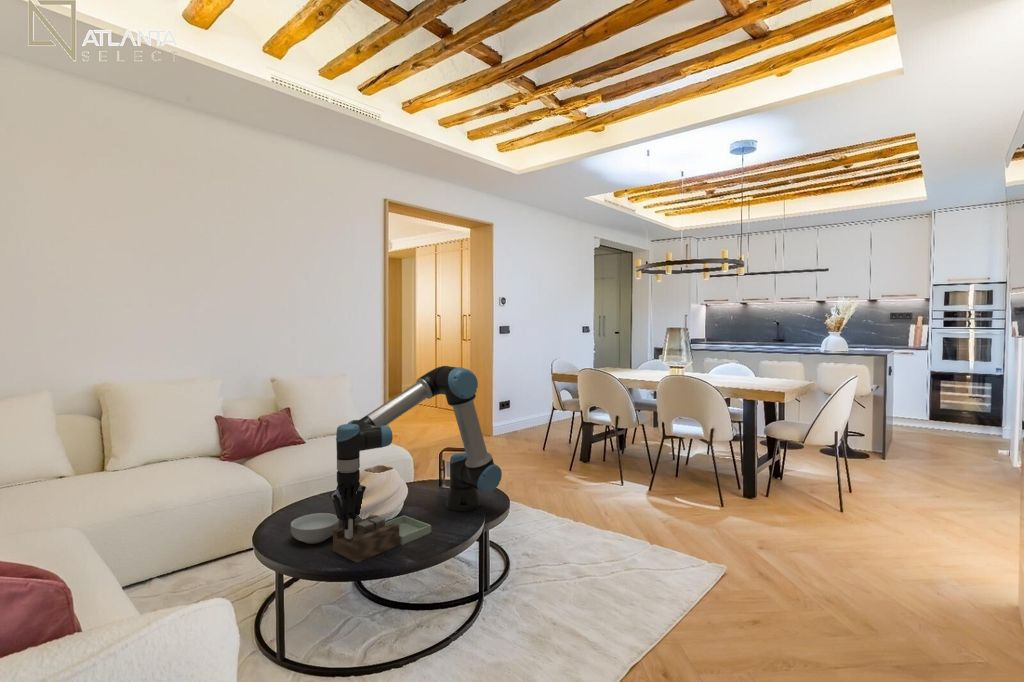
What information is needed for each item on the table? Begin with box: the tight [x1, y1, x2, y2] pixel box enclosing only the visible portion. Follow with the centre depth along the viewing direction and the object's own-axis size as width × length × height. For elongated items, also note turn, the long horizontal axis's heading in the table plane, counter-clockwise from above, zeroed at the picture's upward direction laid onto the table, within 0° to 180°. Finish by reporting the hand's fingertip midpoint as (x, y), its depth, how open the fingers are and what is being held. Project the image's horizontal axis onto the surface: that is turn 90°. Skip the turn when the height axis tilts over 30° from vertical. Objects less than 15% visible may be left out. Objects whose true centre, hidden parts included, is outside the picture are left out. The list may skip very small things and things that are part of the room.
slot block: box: [332, 515, 401, 564], centre depth 184 cm, size 18×14×8 cm
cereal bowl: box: [290, 512, 340, 545], centre depth 191 cm, size 17×17×7 cm
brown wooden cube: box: [357, 521, 374, 536], centre depth 184 cm, size 4×4×4 cm
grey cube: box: [369, 516, 386, 531], centre depth 188 cm, size 4×4×4 cm
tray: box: [385, 514, 432, 546], centre depth 197 cm, size 14×16×3 cm
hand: (348, 537), depth 178 cm, fingers closed
